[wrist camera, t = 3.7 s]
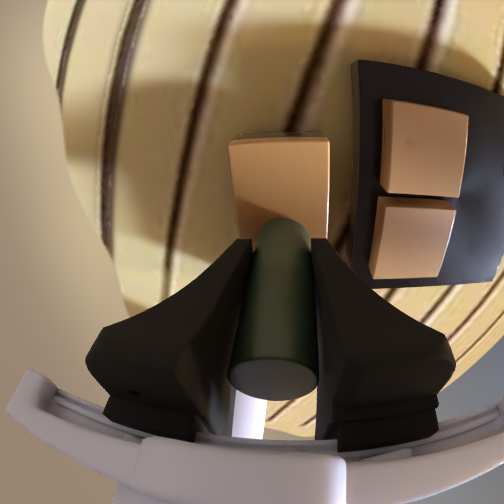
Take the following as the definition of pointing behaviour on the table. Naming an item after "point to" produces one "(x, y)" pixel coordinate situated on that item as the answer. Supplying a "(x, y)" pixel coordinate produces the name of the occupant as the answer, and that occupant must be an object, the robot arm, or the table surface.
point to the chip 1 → (422, 149)
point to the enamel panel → (467, 204)
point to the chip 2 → (410, 237)
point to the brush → (279, 260)
